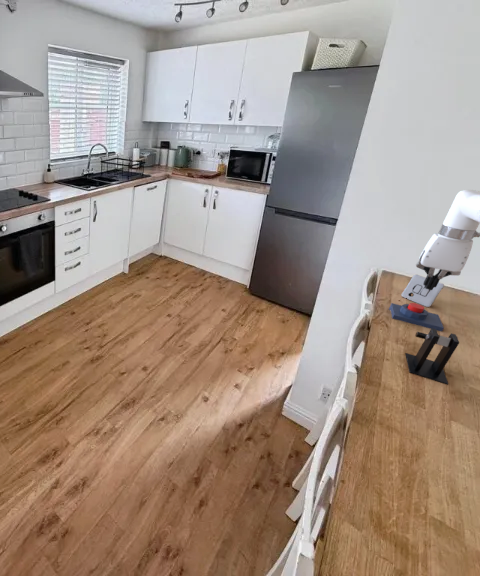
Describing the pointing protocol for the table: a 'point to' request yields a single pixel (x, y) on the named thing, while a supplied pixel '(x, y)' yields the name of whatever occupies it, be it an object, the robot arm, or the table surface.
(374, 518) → the table surface
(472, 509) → the table surface
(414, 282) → the electrical switch
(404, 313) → the switch block
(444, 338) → the lever
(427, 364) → the bracket
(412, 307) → the button
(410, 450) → the table surface
